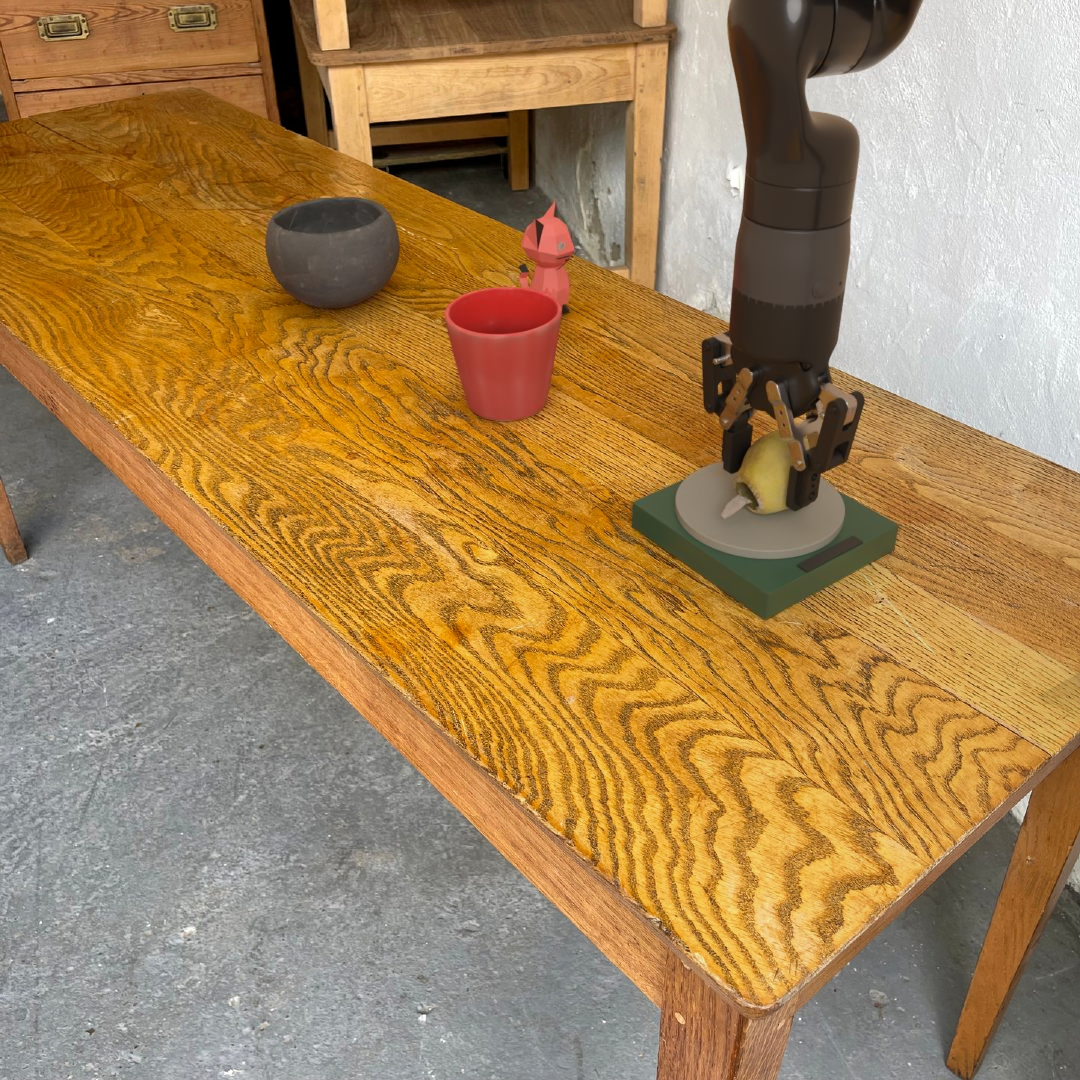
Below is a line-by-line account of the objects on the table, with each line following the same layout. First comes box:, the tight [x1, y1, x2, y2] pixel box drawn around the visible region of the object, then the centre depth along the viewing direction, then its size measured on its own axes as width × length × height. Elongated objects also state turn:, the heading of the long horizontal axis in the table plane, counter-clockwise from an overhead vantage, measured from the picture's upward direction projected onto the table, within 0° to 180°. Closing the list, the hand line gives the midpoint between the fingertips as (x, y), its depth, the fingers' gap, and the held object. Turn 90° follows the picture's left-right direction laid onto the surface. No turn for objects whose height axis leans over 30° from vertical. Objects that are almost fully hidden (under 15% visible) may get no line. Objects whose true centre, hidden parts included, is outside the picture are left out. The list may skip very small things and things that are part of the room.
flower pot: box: [444, 286, 563, 422], centre depth 104 cm, size 11×11×10 cm
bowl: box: [264, 196, 401, 309], centre depth 126 cm, size 15×15×10 cm
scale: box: [631, 461, 900, 621], centre depth 86 cm, size 15×14×3 cm
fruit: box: [720, 429, 810, 520], centre depth 84 cm, size 6×6×10 cm
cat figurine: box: [518, 200, 579, 315], centre depth 120 cm, size 7×7×12 cm
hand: (766, 486), depth 84 cm, fingers closed on fruit, 6 cm apart
